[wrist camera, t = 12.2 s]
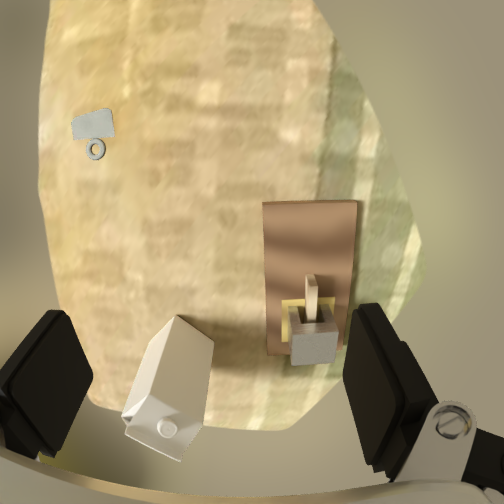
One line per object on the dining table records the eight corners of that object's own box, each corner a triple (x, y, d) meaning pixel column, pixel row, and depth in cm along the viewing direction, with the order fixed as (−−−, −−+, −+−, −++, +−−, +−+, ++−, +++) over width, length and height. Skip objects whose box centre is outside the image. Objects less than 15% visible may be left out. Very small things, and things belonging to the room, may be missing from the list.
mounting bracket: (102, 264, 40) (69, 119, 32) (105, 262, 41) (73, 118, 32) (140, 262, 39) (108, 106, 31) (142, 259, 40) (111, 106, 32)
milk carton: (187, 365, 47) (164, 469, 30) (149, 340, 45) (111, 442, 28) (215, 341, 45) (199, 453, 27) (175, 313, 43) (140, 423, 25)
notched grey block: (287, 306, 41) (292, 334, 35) (328, 303, 41) (338, 331, 35) (287, 336, 43) (291, 365, 37) (325, 333, 43) (334, 362, 37)
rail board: (262, 202, 37) (263, 212, 33) (354, 199, 36) (365, 209, 33) (267, 349, 45) (268, 369, 42) (340, 344, 45) (346, 363, 41)
